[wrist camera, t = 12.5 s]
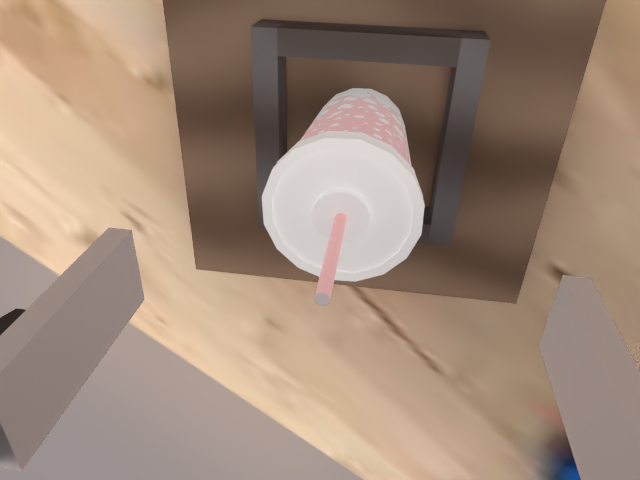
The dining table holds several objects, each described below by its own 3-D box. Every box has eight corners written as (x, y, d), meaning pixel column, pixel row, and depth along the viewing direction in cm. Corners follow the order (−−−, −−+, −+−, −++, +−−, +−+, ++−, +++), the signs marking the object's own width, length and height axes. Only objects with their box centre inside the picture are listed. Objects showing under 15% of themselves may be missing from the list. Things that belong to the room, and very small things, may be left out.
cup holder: (513, 293, 32) (522, 325, 29) (201, 260, 34) (184, 287, 31) (623, -91, 21) (653, -92, 19) (158, -105, 23) (128, -108, 21)
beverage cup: (290, 83, 26) (191, 219, 14) (413, 61, 24) (417, 192, 13) (315, 191, 29) (251, 378, 17) (426, 178, 27) (439, 370, 16)
